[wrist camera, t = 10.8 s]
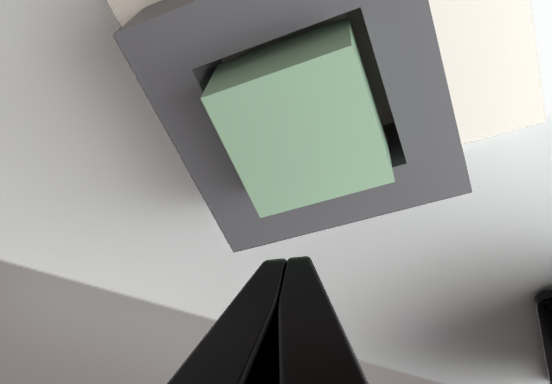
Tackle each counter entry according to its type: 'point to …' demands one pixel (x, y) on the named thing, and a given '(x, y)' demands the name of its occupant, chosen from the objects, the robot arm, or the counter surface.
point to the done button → (300, 120)
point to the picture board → (382, 78)
